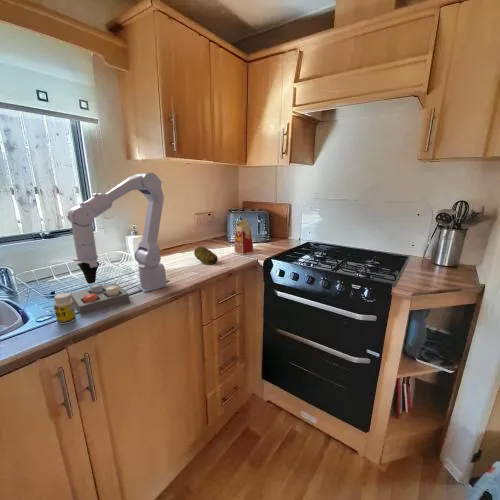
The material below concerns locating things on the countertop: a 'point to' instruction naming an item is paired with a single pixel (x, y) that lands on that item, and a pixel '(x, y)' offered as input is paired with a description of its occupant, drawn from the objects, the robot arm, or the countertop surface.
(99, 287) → the button slate
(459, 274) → the countertop surface
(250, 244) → the milk carton
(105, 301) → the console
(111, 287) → the button ivory
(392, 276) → the countertop surface
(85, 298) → the button red
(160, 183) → the robot arm
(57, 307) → the supplement bottle
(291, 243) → the countertop surface
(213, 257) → the olive green oval lump
